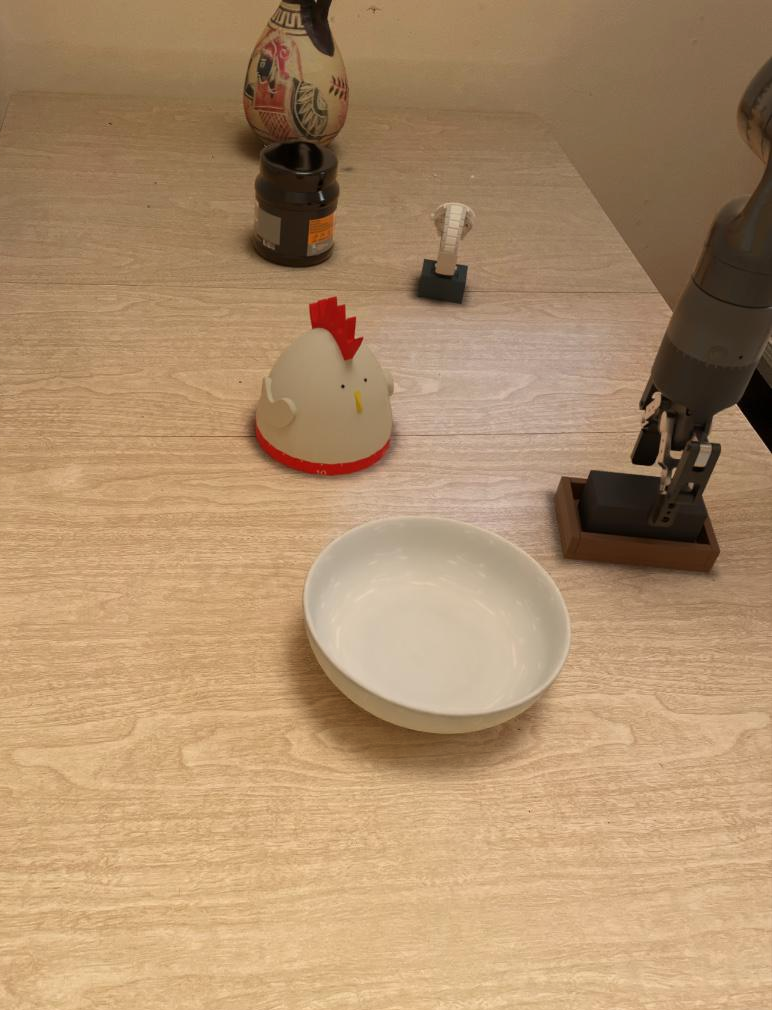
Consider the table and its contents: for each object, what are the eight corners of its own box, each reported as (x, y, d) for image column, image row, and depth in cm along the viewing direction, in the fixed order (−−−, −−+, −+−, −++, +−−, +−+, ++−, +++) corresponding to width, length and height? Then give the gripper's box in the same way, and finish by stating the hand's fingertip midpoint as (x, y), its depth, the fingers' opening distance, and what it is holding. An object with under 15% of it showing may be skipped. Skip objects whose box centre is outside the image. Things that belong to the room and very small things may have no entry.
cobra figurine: (464, 281, 123) (481, 196, 115) (460, 313, 117) (478, 226, 109) (420, 274, 123) (435, 189, 115) (414, 305, 118) (429, 218, 110)
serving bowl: (493, 815, 70) (515, 762, 65) (248, 690, 76) (251, 632, 71) (584, 633, 83) (608, 577, 78) (369, 538, 89) (378, 481, 84)
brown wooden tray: (689, 513, 95) (700, 489, 93) (708, 574, 89) (721, 551, 87) (553, 499, 95) (561, 475, 92) (563, 560, 89) (572, 536, 87)
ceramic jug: (219, 149, 144) (221, -92, 122) (288, 124, 152) (300, -106, 131) (305, 188, 137) (323, -59, 115) (371, 160, 146) (400, -76, 124)
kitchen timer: (297, 492, 92) (308, 357, 81) (231, 413, 100) (234, 280, 89) (415, 453, 98) (441, 322, 87) (345, 381, 105) (360, 252, 94)
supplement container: (350, 253, 125) (360, 160, 116) (293, 279, 119) (300, 183, 111) (292, 223, 130) (298, 131, 121) (235, 246, 124) (237, 151, 115)
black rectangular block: (679, 515, 93) (696, 480, 90) (689, 551, 90) (708, 515, 86) (577, 505, 93) (590, 469, 89) (583, 541, 89) (598, 504, 86)
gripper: (787, 393, 71) (706, 550, 83) (740, 295, 81) (674, 448, 93) (687, 383, 71) (620, 542, 83) (652, 286, 81) (597, 440, 93)
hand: (649, 492), depth 88 cm, fingers open, 8 cm apart
